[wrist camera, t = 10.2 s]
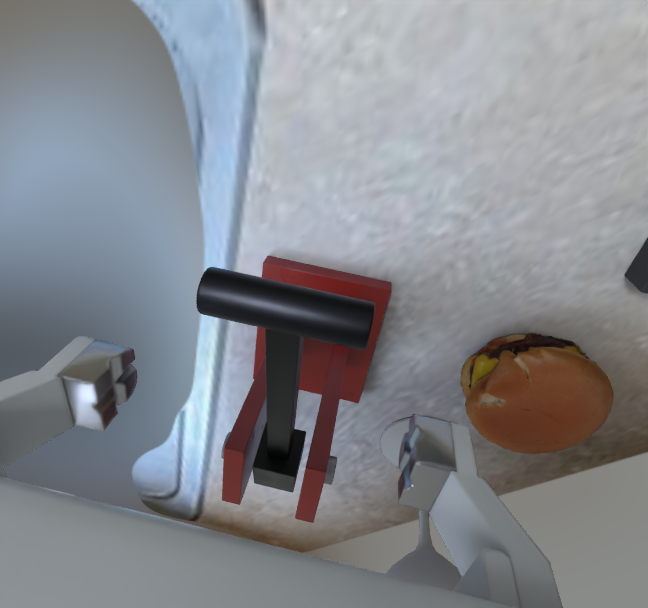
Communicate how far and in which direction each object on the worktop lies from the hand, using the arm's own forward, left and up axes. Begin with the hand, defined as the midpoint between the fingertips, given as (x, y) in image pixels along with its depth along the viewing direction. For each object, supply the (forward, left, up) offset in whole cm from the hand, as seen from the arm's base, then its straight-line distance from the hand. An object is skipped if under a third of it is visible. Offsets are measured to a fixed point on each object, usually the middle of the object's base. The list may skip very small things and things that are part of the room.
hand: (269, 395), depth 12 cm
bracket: (+10, 0, -18) cm, 21 cm away
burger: (+10, +16, -18) cm, 26 cm away
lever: (+4, 0, -5) cm, 6 cm away
